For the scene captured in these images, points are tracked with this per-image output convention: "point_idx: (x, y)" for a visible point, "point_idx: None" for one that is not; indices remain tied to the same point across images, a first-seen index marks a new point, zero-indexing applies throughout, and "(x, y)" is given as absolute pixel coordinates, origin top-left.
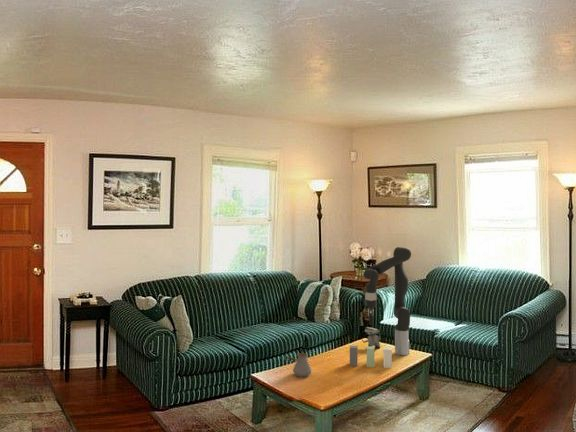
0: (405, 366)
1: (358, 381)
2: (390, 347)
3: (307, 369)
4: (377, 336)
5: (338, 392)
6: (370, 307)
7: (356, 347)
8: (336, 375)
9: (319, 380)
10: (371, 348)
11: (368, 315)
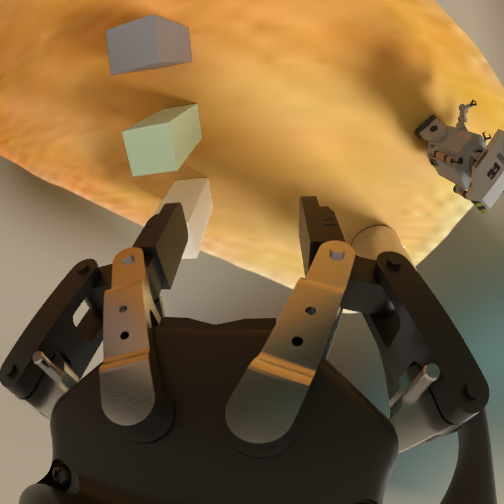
0: (218, 254)
1: (24, 125)
2: (194, 254)
3: None
4: (464, 186)
5: None
6: (60, 468)
7: (121, 65)
8: (42, 39)
9: (4, 22)
10: (134, 158)
11: (121, 286)
